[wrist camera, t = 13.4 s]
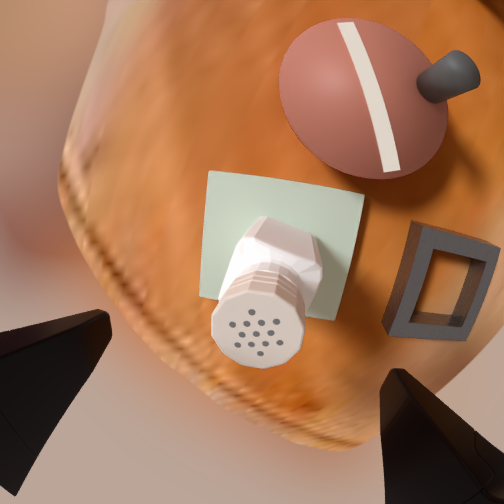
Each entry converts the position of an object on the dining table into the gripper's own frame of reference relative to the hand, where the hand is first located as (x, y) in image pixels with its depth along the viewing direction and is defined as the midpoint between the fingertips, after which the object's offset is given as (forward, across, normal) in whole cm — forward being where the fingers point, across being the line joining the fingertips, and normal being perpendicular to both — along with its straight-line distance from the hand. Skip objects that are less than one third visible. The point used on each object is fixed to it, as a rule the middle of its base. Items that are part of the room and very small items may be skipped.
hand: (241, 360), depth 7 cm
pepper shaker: (+11, 0, 0) cm, 11 cm away
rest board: (+12, 0, 0) cm, 12 cm away
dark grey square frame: (+12, -13, 0) cm, 18 cm away
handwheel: (+10, -4, -11) cm, 15 cm away
